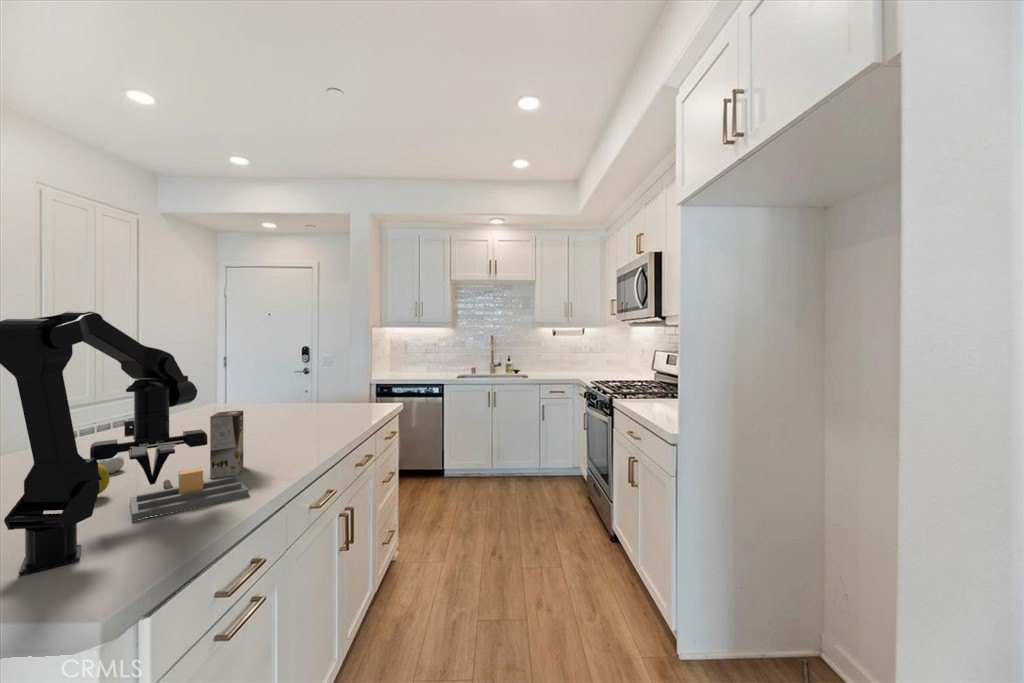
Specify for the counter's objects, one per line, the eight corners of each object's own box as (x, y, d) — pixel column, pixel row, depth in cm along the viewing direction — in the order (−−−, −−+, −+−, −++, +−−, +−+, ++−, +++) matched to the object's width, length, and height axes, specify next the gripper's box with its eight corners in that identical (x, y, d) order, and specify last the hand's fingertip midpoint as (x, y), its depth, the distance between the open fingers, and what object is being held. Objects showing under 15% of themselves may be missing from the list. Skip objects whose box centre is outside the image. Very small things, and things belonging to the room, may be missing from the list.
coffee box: (238, 475, 112) (238, 415, 112) (209, 479, 109) (209, 417, 109) (244, 466, 120) (243, 409, 120) (217, 469, 118) (216, 411, 118)
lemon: (88, 503, 93) (87, 467, 93) (68, 501, 94) (68, 465, 94) (116, 494, 99) (115, 460, 98) (97, 492, 100) (97, 458, 100)
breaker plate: (248, 495, 98) (248, 485, 98) (132, 521, 84) (131, 509, 84) (237, 483, 106) (237, 473, 106) (130, 504, 92) (129, 493, 92)
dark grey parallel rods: (206, 489, 102) (206, 483, 102) (167, 497, 97) (167, 491, 97) (199, 478, 110) (199, 473, 110) (162, 485, 105) (162, 479, 105)
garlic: (105, 470, 117) (105, 451, 117) (129, 468, 119) (129, 449, 119) (91, 476, 111) (91, 457, 111) (116, 474, 113) (116, 455, 113)
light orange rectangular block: (202, 492, 95) (202, 470, 95) (180, 497, 92) (180, 474, 92) (200, 488, 98) (200, 467, 98) (178, 493, 95) (178, 471, 95)
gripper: (200, 402, 103) (200, 466, 103) (91, 411, 90) (92, 484, 90) (207, 407, 95) (208, 477, 95) (89, 418, 82) (90, 499, 82)
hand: (152, 484), depth 90 cm, fingers closed
